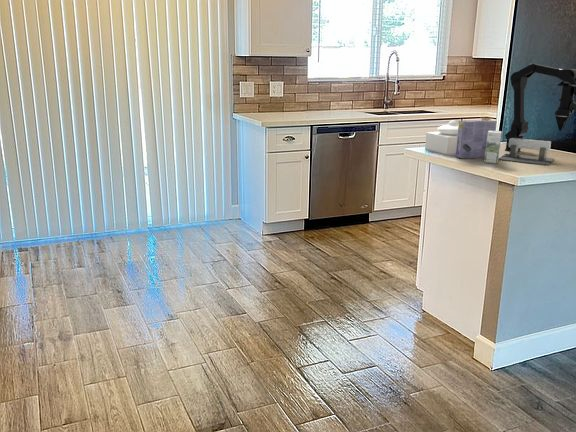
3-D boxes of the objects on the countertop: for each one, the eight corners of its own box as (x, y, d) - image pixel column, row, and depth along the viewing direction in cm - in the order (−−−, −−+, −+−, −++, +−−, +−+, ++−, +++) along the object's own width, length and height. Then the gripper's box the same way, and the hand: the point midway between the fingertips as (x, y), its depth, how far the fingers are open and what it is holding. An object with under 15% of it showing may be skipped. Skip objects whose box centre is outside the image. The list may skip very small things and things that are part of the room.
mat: (497, 160, 261) (497, 158, 261) (501, 157, 267) (501, 156, 267) (548, 165, 250) (548, 164, 250) (550, 163, 255) (550, 161, 255)
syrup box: (498, 162, 257) (502, 130, 253) (497, 164, 252) (501, 132, 247) (485, 160, 259) (489, 129, 255) (484, 163, 254) (487, 131, 250)
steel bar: (508, 147, 267) (509, 138, 266) (510, 146, 270) (511, 137, 269) (548, 151, 257) (549, 142, 256) (550, 149, 261) (551, 141, 259)
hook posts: (501, 157, 268) (503, 144, 266) (505, 155, 274) (507, 142, 272) (550, 162, 256) (553, 149, 254) (553, 160, 263) (555, 146, 261)
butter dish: (446, 155, 273) (449, 122, 269) (424, 149, 289) (426, 118, 284) (474, 153, 280) (478, 121, 275) (451, 147, 296) (454, 117, 291)
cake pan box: (488, 155, 273) (492, 119, 267) (494, 157, 268) (499, 120, 263) (454, 157, 267) (457, 120, 262) (460, 159, 263) (463, 121, 258)
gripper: (584, 99, 250) (578, 133, 254) (587, 96, 265) (581, 128, 270) (557, 97, 255) (552, 131, 260) (562, 94, 271) (556, 126, 275)
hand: (561, 129), depth 266 cm, fingers open, 9 cm apart
